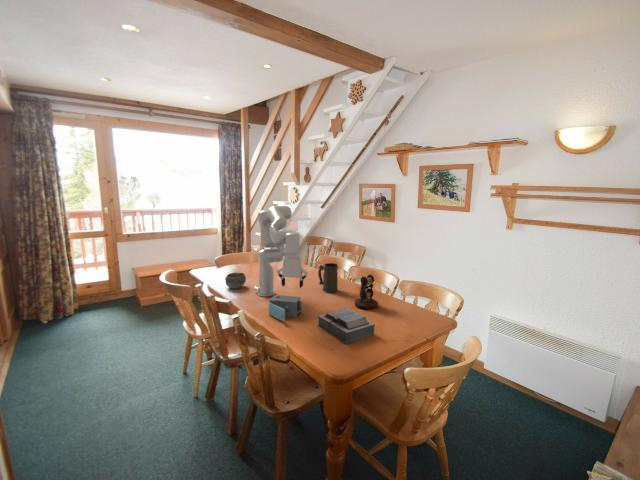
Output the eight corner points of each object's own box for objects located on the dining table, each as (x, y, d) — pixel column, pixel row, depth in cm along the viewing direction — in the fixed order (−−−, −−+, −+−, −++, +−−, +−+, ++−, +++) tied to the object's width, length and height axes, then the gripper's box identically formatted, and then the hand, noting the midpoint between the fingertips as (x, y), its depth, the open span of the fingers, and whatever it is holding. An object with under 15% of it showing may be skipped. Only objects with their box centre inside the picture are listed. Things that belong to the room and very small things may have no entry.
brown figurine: (363, 300, 212) (365, 271, 209) (382, 306, 202) (384, 276, 198) (349, 305, 202) (351, 275, 198) (368, 312, 191) (370, 280, 188)
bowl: (248, 285, 237) (248, 272, 236) (241, 291, 222) (241, 278, 220) (230, 284, 239) (230, 271, 237) (222, 290, 224) (222, 277, 222)
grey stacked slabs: (337, 347, 150) (337, 327, 148) (314, 324, 174) (315, 307, 172) (378, 338, 159) (379, 320, 157) (351, 318, 183) (352, 301, 182)
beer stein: (340, 289, 232) (339, 262, 229) (336, 293, 222) (335, 266, 219) (320, 288, 237) (319, 262, 234) (315, 292, 227) (314, 265, 224)
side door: (267, 315, 182) (266, 303, 181) (270, 314, 184) (270, 302, 183) (281, 322, 173) (281, 310, 172) (285, 321, 174) (285, 309, 173)
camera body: (269, 314, 184) (269, 299, 182) (274, 308, 193) (274, 293, 191) (299, 317, 181) (299, 301, 179) (303, 311, 190) (303, 296, 188)
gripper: (274, 256, 166) (274, 287, 169) (306, 258, 163) (306, 289, 166) (279, 253, 173) (279, 283, 176) (309, 255, 170) (309, 285, 173)
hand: (292, 286), depth 171 cm, fingers open, 9 cm apart
